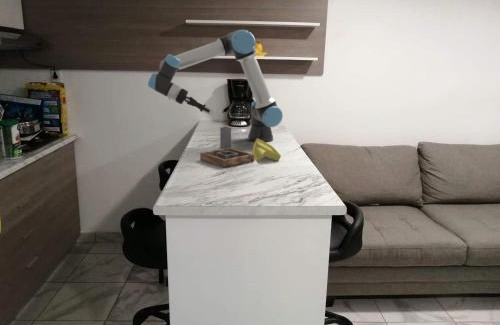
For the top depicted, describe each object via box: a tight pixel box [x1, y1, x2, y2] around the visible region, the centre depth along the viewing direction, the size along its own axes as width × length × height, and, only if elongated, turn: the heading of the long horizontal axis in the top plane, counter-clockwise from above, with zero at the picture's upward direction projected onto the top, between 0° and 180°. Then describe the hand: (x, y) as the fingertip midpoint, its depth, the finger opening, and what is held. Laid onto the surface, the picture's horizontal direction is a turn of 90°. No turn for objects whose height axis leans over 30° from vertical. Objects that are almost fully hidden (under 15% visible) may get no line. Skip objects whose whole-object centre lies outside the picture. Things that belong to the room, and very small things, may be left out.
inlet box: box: [199, 147, 255, 169], centre depth 184 cm, size 18×18×4 cm
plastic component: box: [251, 139, 282, 162], centre depth 193 cm, size 20×7×10 cm
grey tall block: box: [219, 124, 232, 150], centre depth 204 cm, size 4×4×13 cm
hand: (215, 114), depth 200 cm, fingers open, 13 cm apart
